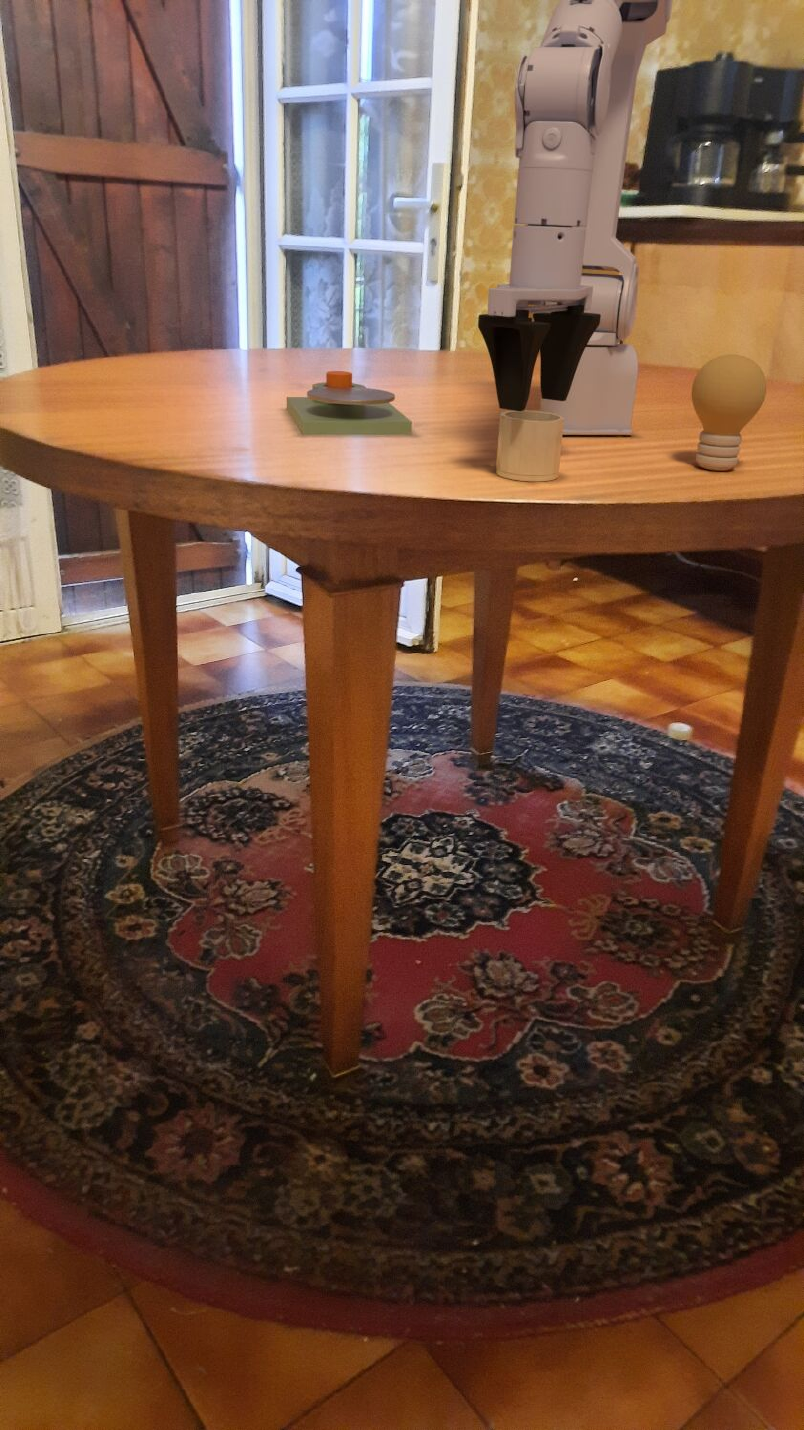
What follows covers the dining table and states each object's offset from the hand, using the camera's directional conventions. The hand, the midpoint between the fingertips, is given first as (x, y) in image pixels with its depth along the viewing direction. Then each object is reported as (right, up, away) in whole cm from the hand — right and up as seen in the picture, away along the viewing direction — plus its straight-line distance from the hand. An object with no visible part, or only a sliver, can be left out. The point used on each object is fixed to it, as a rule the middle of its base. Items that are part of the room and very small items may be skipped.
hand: (533, 404), depth 86 cm
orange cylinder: (-18, +9, +25) cm, 33 cm away
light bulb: (+18, -4, +8) cm, 20 cm away
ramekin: (0, -5, +3) cm, 6 cm away
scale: (-17, +5, +22) cm, 28 cm away
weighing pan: (-16, +6, +18) cm, 25 cm away
